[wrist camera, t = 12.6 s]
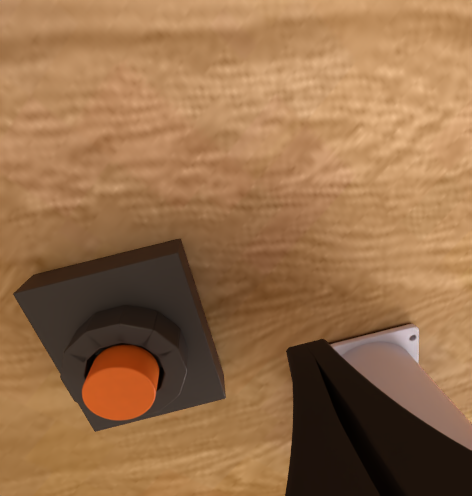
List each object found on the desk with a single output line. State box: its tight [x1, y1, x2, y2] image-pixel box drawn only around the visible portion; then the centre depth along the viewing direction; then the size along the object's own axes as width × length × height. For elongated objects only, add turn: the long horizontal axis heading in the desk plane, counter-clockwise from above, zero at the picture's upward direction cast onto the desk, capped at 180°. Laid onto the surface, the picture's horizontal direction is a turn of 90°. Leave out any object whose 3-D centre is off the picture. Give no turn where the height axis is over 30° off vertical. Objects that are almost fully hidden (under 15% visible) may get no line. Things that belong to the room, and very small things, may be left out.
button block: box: [13, 239, 226, 432], centre depth 19 cm, size 11×9×4 cm
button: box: [82, 344, 159, 420], centre depth 17 cm, size 4×4×2 cm
